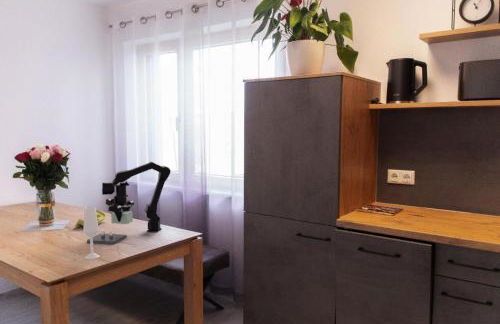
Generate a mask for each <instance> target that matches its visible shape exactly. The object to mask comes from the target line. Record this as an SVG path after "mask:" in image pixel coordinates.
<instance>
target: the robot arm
mask: <svg viewBox="0 0 500 324" xmlns="http://www.w3.org/2000/svg"><path fill="white" fill-rule="evenodd" d="M150 170H154V171H156V172H158V177H157V182H156V185H155V188H154V191H153V194H152V197H151V201H150V202H149V204H148V203H146V205H145V208H144V214H145V216H146V218H147V219H148V220H147V221H148V222H147V232H154V233H155V232H159V231H161V230H162V227H161V217H160V215H158V214H157V213H158V203H159V201H160V197H161V196H162V192H163V189H164V186H165V183H166V181H168V178H169V176H170V174H171V168H169V167H168V166H166V165H160V164H158V163H155V162H153V161H149V162H147V163H144V164H141V165H139V166H136V167H134V168H131V169H126V170H121V171H117V172H116V173H115V176H114V179H112V181H111V182H102V184H101V186H102V187H101V194H102V196H107V195H114V194H113V193H115V195H114V197H113V198H112V199H111V198H106V199H105V205H106V206H108V207H107V209H108V210H107V211H109V212H111V213H112V212H114V213H115V215H116V217H117V220H118V222H120V221H121V217H122V213H123V211H131V208H132V207H133V206H134V205H135V201H134V200H133V199H132V200H131V199H129V200H128V199H127V198H128V197H129V194H127V187H129V186H130V183H129V182H128V181H127V180H129V179H130V178H132V177H133V176H137V175H139V174H142V173H144V172H147V171H150Z"/></svg>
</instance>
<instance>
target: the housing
mask: <svg viewBox="0 0 500 324" xmlns="http://www.w3.org/2000/svg"><path fill="white" fill-rule="evenodd" d="M110 217H111V218H110V219H111V220H110V221H111V222H110V223H111V224H116V225H117V224H121V225H128V224H130V223H132V222H134V221H133V219H134V218H133V211H131V210H130V211H123V213H122V217H121V221H120V222H118V220H117V217H116V215H115V213H114V212H112V211H111V212H110Z"/></svg>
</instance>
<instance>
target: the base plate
mask: <svg viewBox="0 0 500 324" xmlns="http://www.w3.org/2000/svg"><path fill="white" fill-rule="evenodd" d="M127 235H128V234H120V233H114V231H109V233H106V232H105V231H104V230H102V231H101V232H100V233H97V235H95V236H93V244H101V245H102V244H103V245H115V244H117V243H119V242H121V241H123V240H125V239H126V238H127ZM86 243H88V244H90V238H88V239H87V240H86Z"/></svg>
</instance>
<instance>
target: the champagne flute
mask: <svg viewBox="0 0 500 324" xmlns="http://www.w3.org/2000/svg"><path fill="white" fill-rule="evenodd" d="M96 210H97V209H96V206H91V205H90V206H85V207H84V215H83V220H84V226H83V230H82V231H83V234H85V235H86V236H87V237H88V238H89V239H90V243H89V245H90V248H89V249H90V252H89V253H88V254H87V255H86V256H84V259H86V260H94V259H97V258H100V255H99V254H98V253H95V252H94V243H93V237H94V236H96V234H98V232H99V230H100V229H99V224H98V222H97V215H96Z"/></svg>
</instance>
